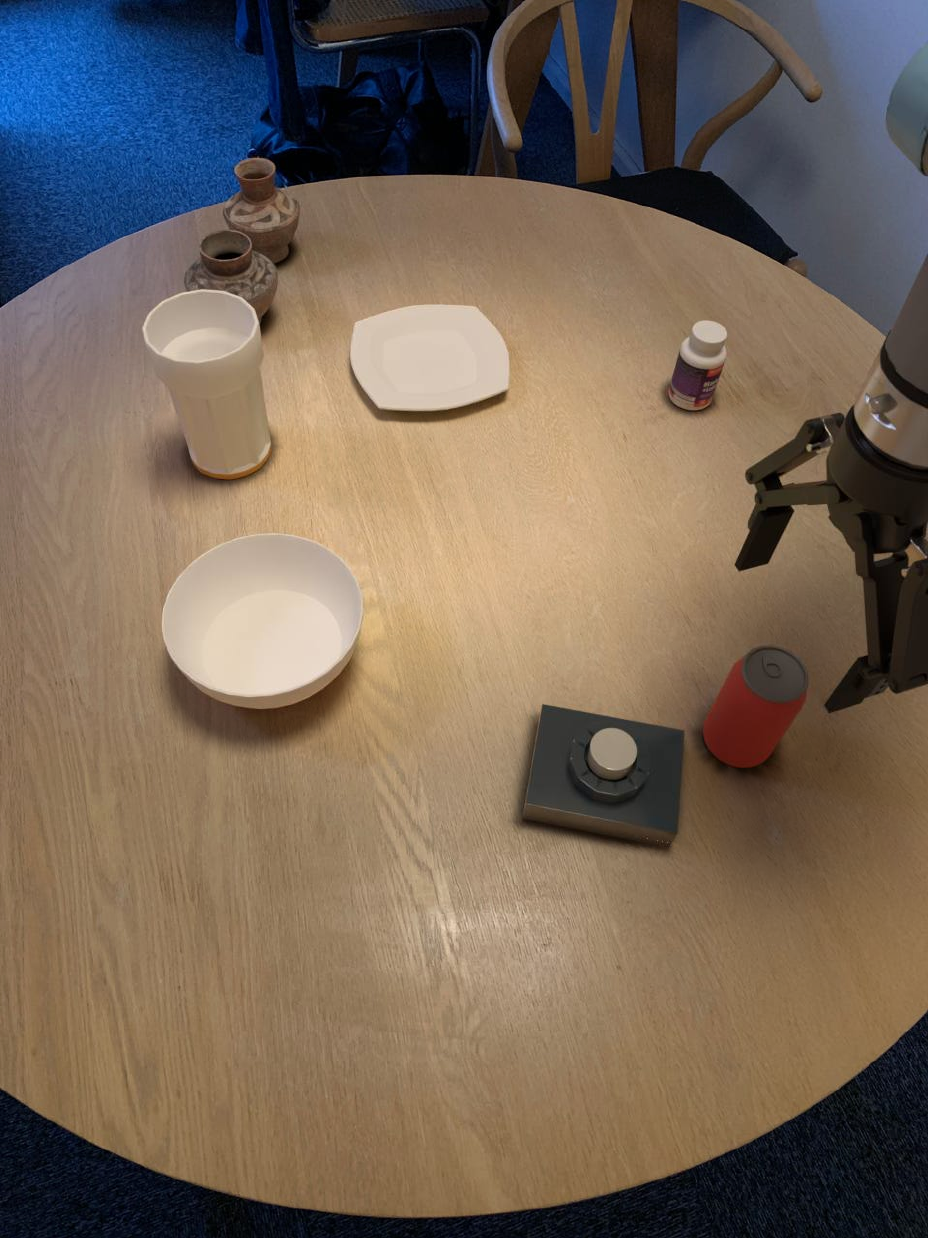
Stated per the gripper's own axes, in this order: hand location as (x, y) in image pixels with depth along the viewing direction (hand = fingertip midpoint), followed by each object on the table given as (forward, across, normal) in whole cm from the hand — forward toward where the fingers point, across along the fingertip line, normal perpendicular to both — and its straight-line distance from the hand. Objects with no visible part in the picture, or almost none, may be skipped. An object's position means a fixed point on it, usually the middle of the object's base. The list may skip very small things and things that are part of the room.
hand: (794, 631), depth 72 cm
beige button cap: (+14, 0, -13) cm, 19 cm away
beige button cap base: (+19, 0, -13) cm, 23 cm away
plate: (+19, -58, -11) cm, 62 cm away
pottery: (+19, -79, -28) cm, 86 cm away
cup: (+19, -51, -37) cm, 65 cm away
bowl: (+19, -23, -38) cm, 48 cm away
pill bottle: (+19, -43, +18) cm, 50 cm away
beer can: (+19, 0, +1) cm, 19 cm away
